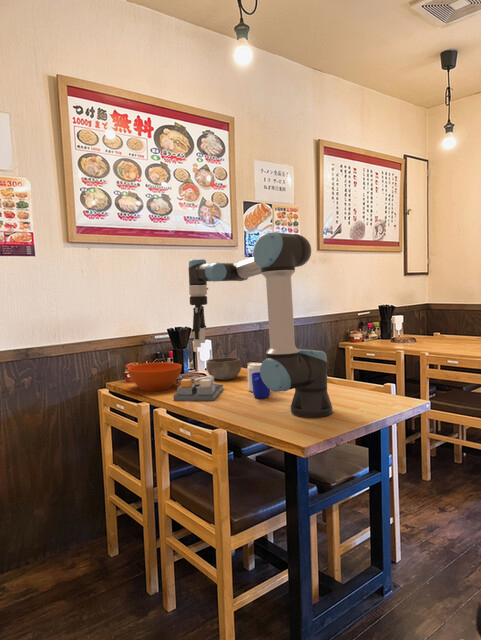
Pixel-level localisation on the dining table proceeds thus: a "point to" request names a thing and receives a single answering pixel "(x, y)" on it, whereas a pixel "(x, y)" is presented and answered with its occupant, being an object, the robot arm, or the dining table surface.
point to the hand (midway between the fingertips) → (199, 345)
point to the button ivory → (205, 383)
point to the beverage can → (251, 369)
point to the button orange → (186, 383)
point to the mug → (259, 387)
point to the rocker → (201, 378)
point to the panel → (198, 393)
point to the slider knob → (211, 380)
